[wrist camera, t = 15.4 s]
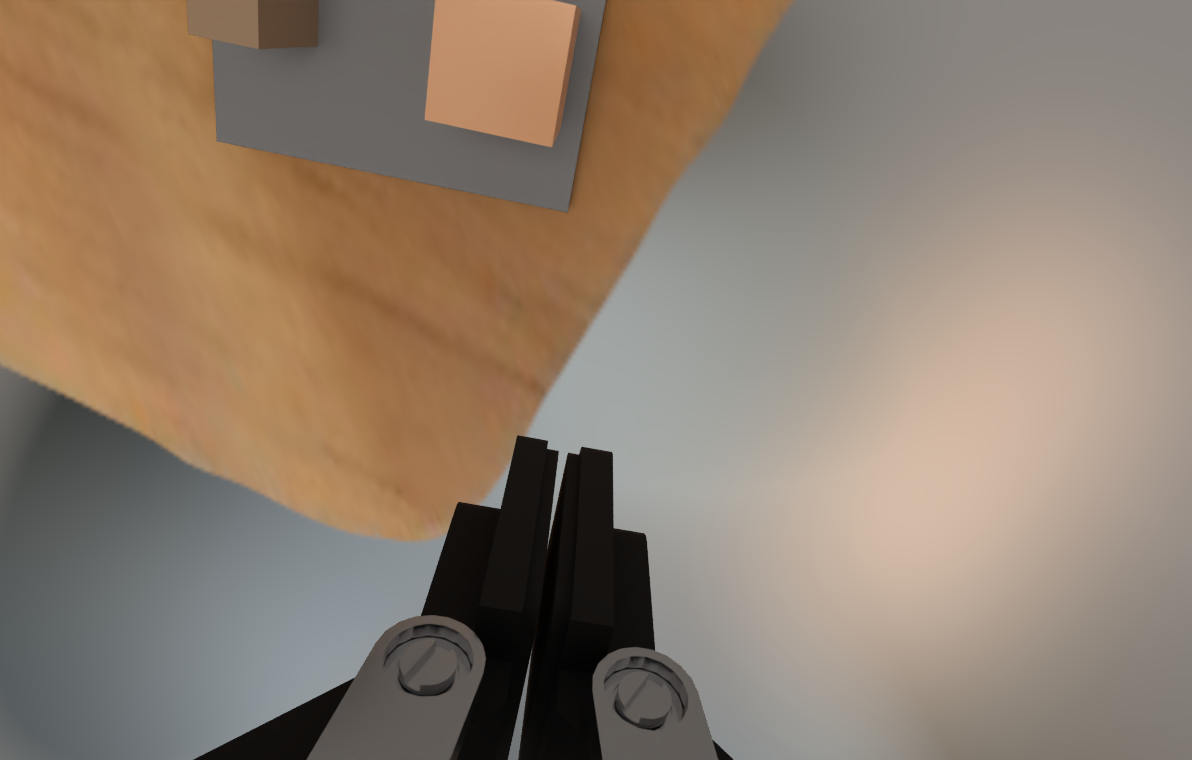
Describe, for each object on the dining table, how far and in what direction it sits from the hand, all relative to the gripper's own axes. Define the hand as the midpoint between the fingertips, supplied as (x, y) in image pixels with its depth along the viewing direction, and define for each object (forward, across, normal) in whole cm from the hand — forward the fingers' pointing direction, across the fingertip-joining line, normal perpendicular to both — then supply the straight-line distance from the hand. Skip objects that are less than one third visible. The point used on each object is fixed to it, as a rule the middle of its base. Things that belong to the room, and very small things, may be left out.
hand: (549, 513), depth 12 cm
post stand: (+32, +11, -6) cm, 34 cm away
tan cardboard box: (+30, +5, -5) cm, 31 cm away
